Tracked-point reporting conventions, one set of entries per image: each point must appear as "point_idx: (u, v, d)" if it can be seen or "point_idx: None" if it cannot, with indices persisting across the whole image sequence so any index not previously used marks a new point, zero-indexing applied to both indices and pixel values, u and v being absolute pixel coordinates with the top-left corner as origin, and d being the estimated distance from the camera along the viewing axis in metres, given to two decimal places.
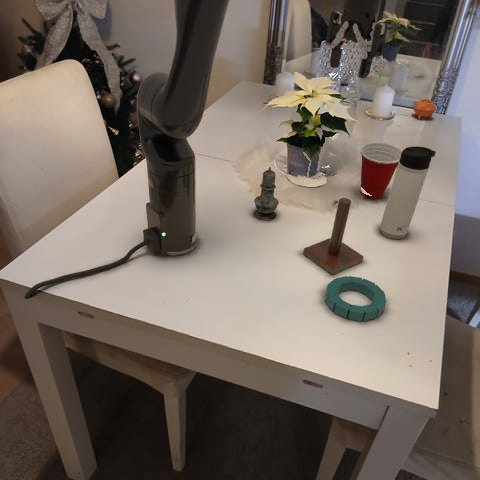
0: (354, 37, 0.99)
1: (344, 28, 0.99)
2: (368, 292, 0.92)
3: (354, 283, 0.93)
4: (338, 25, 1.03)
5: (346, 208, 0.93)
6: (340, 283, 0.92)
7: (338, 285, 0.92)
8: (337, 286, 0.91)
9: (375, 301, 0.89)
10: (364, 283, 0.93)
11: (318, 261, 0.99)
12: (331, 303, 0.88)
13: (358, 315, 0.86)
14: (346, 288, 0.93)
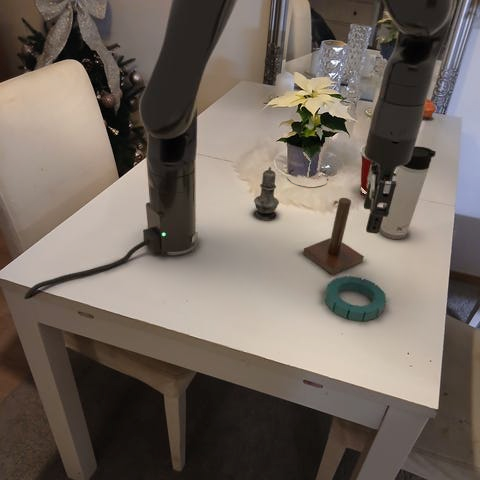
0: None
1: (369, 171, 0.82)
2: (368, 292, 0.92)
3: (354, 283, 0.93)
4: None
5: (346, 208, 0.93)
6: (340, 283, 0.92)
7: (338, 285, 0.92)
8: (337, 286, 0.91)
9: (375, 301, 0.89)
10: (364, 283, 0.93)
11: (318, 261, 0.99)
12: (331, 303, 0.88)
13: (358, 315, 0.86)
14: (346, 288, 0.93)
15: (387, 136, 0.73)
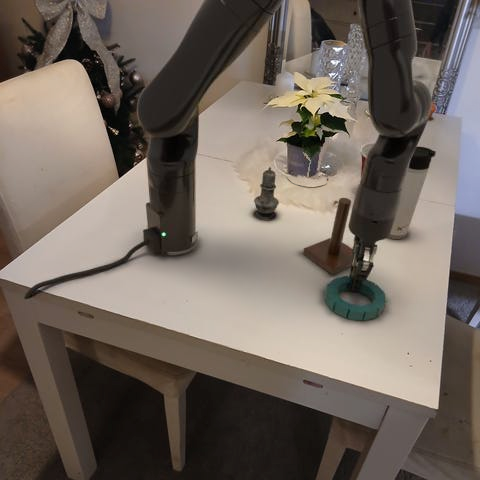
0: None
1: None
2: (368, 292, 0.92)
3: None
4: None
5: (346, 208, 0.93)
6: (340, 283, 0.92)
7: (338, 285, 0.92)
8: (337, 286, 0.91)
9: (375, 301, 0.89)
10: (364, 283, 0.93)
11: (318, 261, 0.99)
12: (331, 302, 0.88)
13: (358, 315, 0.86)
14: (346, 288, 0.94)
15: (368, 216, 0.81)
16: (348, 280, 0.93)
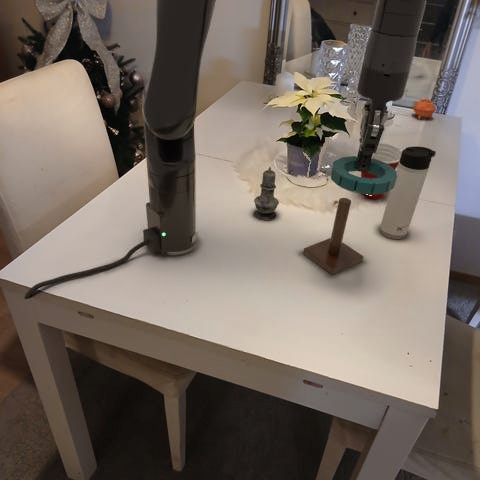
0: None
1: None
2: (378, 171, 0.85)
3: None
4: None
5: (346, 208, 0.93)
6: (347, 161, 0.85)
7: (345, 162, 0.85)
8: (344, 163, 0.84)
9: (385, 175, 0.81)
10: (373, 162, 0.86)
11: (318, 261, 0.99)
12: (337, 176, 0.81)
13: (366, 187, 0.79)
14: (354, 168, 0.86)
15: (379, 68, 0.74)
16: (356, 159, 0.86)
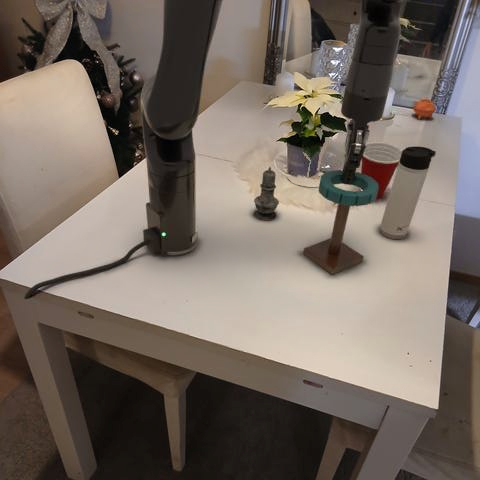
0: None
1: None
2: (361, 184, 0.93)
3: None
4: None
5: (346, 208, 0.93)
6: (334, 175, 0.93)
7: (331, 176, 0.93)
8: (330, 177, 0.92)
9: (368, 188, 0.89)
10: (357, 175, 0.93)
11: (318, 261, 0.99)
12: (324, 189, 0.89)
13: (350, 199, 0.87)
14: (340, 181, 0.94)
15: (360, 93, 0.81)
16: (342, 173, 0.94)
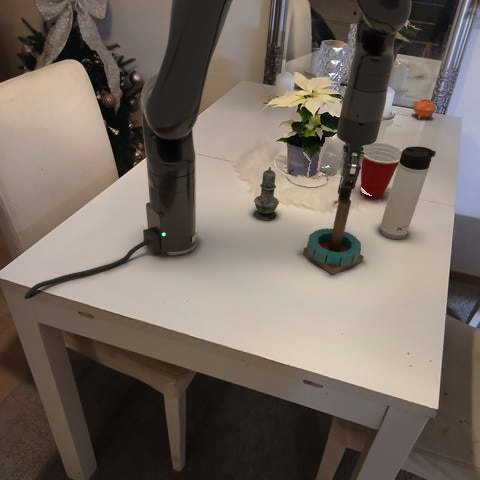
0: None
1: (342, 152, 0.93)
2: (346, 242, 1.02)
3: None
4: None
5: (346, 208, 0.93)
6: (321, 234, 1.02)
7: (319, 235, 1.02)
8: (318, 236, 1.02)
9: (351, 249, 0.99)
10: None
11: (318, 261, 0.99)
12: (312, 249, 0.99)
13: (335, 260, 0.97)
14: (327, 239, 1.04)
15: (354, 118, 0.84)
16: (329, 232, 1.03)
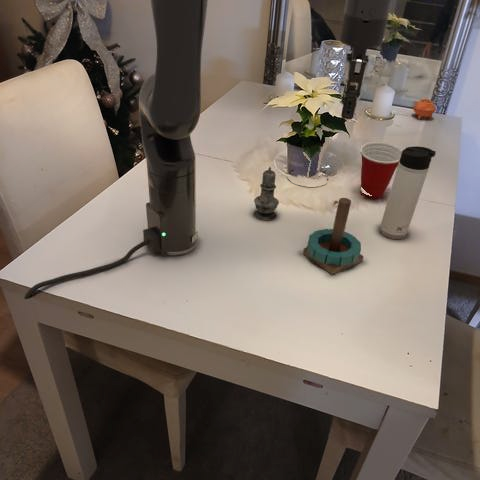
0: (348, 72, 0.87)
1: (345, 61, 0.88)
2: (346, 242, 1.02)
3: None
4: None
5: (346, 208, 0.93)
6: (321, 234, 1.02)
7: (319, 235, 1.02)
8: (318, 236, 1.02)
9: (351, 249, 0.99)
10: None
11: (318, 261, 0.99)
12: (311, 249, 0.99)
13: (335, 260, 0.97)
14: (327, 239, 1.04)
15: (358, 15, 0.79)
16: (328, 232, 1.03)
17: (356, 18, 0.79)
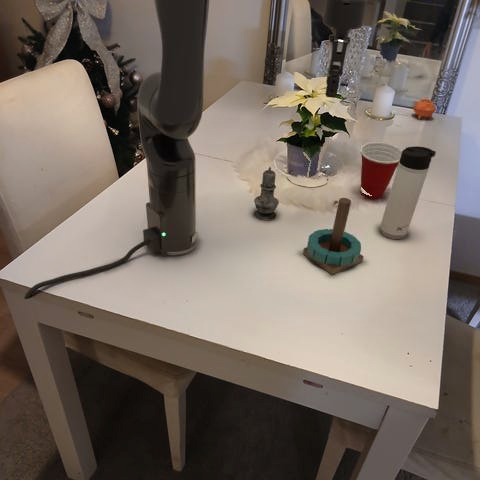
0: None
1: None
2: (346, 242, 1.02)
3: None
4: None
5: (346, 208, 0.93)
6: (321, 234, 1.02)
7: (319, 235, 1.02)
8: (318, 236, 1.02)
9: (351, 249, 0.99)
10: None
11: (318, 261, 0.99)
12: (311, 249, 0.99)
13: (335, 260, 0.97)
14: (327, 239, 1.04)
15: None
16: (328, 232, 1.03)
17: (337, 1, 0.85)
